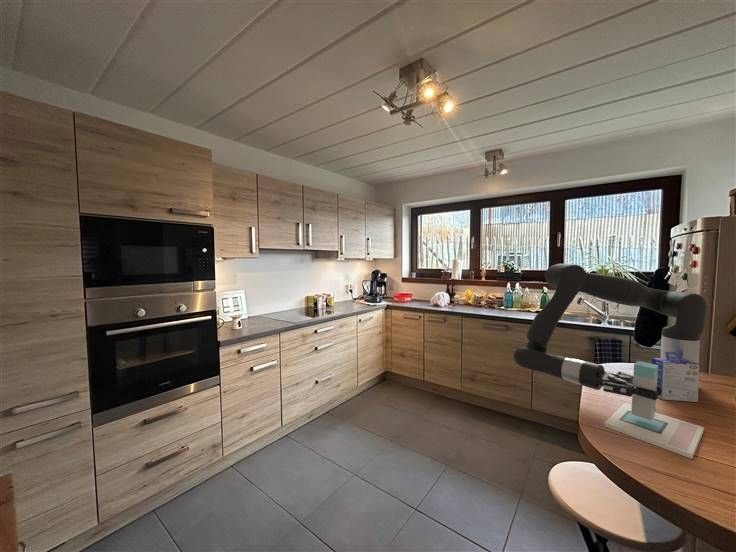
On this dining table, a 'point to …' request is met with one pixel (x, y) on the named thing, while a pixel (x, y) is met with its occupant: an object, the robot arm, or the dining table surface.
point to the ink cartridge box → (677, 378)
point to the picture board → (658, 430)
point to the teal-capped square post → (646, 379)
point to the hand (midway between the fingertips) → (658, 393)
